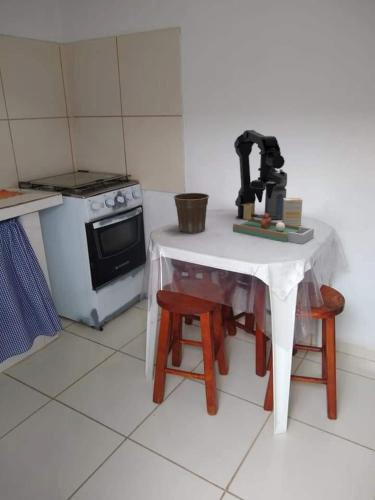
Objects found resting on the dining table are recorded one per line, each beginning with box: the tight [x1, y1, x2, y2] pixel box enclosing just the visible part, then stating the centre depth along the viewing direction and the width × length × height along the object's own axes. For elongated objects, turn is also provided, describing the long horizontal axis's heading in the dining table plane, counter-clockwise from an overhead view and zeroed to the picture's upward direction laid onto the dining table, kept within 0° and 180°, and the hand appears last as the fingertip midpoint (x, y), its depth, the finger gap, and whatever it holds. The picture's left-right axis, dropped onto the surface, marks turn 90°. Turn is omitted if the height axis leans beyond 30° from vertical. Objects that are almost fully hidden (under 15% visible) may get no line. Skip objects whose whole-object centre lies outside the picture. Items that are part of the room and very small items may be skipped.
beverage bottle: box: [264, 168, 288, 220], centre depth 198 cm, size 10×13×25 cm
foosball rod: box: [242, 203, 272, 229], centre depth 178 cm, size 12×5×9 cm, turn 50°
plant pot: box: [173, 192, 210, 234], centre depth 182 cm, size 16×16×16 cm
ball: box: [276, 221, 285, 231], centre depth 172 cm, size 4×4×4 cm
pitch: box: [232, 217, 315, 245], centre depth 175 cm, size 33×14×4 cm, turn 50°
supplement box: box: [281, 197, 303, 227], centre depth 185 cm, size 8×5×13 cm, turn 84°
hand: (264, 200), depth 180 cm, fingers open, 9 cm apart
